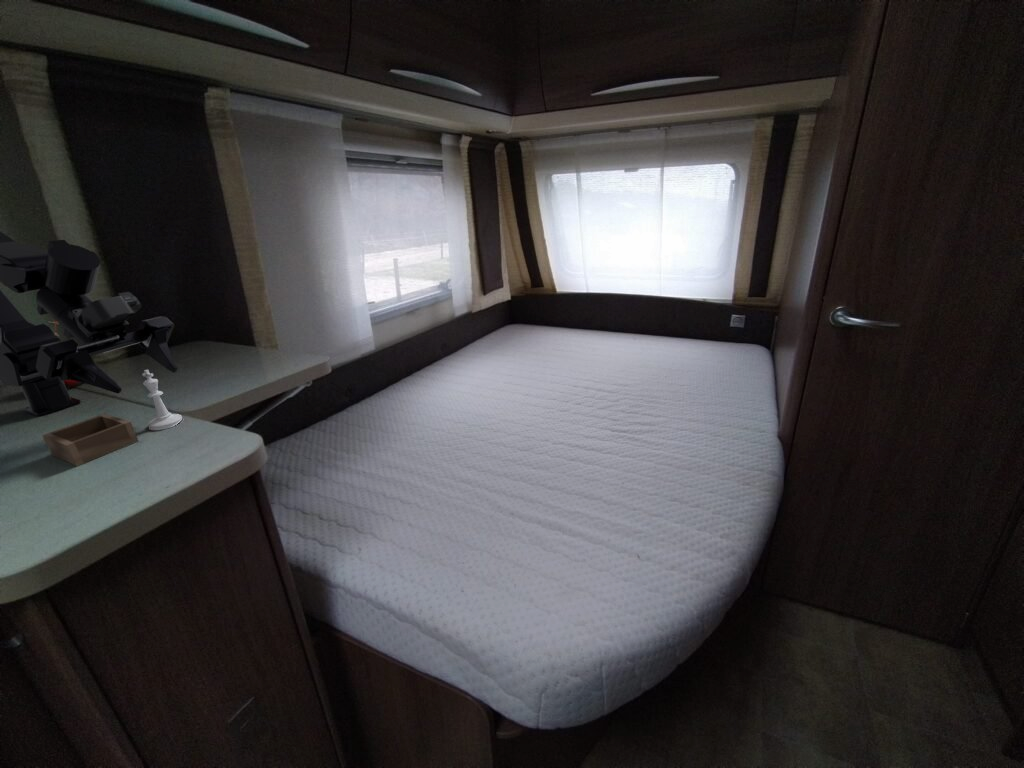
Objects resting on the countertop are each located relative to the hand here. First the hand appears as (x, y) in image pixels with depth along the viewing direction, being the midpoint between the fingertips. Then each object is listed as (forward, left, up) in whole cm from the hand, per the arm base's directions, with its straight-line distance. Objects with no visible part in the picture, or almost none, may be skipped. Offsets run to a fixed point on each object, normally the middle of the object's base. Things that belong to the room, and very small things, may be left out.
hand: (149, 380), depth 75 cm
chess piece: (0, 0, -8) cm, 8 cm away
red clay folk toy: (-42, +2, -8) cm, 43 cm away
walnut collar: (-1, -10, -8) cm, 13 cm away
